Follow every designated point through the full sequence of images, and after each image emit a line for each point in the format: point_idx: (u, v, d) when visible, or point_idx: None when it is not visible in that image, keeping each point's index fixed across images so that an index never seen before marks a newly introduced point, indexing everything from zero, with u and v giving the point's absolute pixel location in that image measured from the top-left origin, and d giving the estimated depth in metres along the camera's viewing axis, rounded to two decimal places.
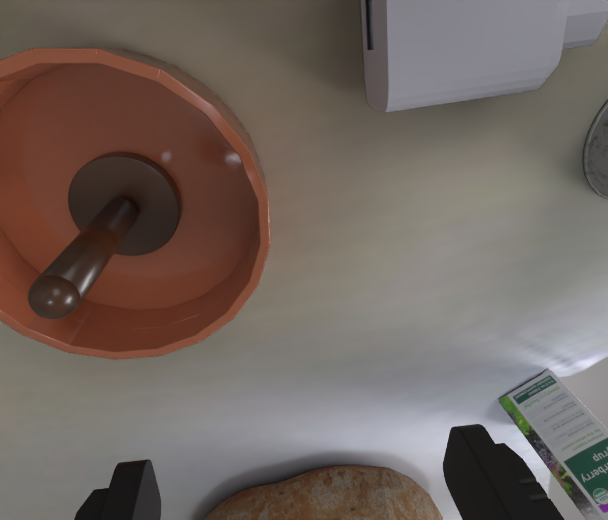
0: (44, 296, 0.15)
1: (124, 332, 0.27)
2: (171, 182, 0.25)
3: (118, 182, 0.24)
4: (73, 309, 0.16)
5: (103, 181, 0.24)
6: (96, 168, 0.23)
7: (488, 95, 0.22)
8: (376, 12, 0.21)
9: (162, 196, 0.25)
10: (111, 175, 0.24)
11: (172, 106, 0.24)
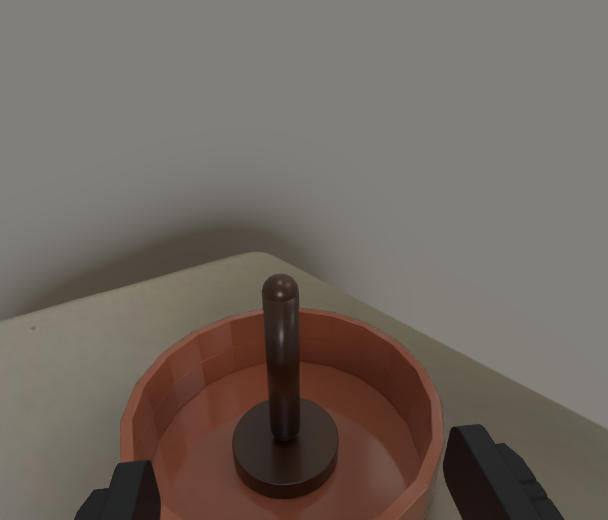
0: (288, 276, 0.20)
1: (138, 447, 0.22)
2: (326, 474, 0.23)
3: (310, 426, 0.25)
4: (276, 293, 0.19)
5: (306, 416, 0.26)
6: (316, 410, 0.26)
7: None
8: None
9: (311, 463, 0.23)
10: (314, 420, 0.26)
11: (395, 463, 0.24)
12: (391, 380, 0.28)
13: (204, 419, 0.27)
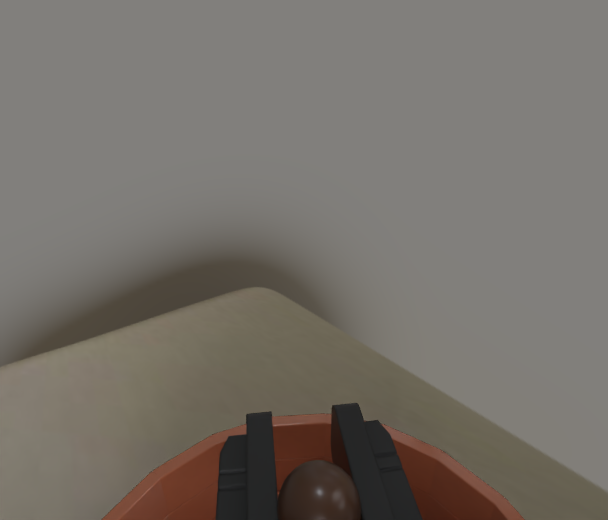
0: (339, 476, 0.09)
1: None
2: None
3: None
4: None
5: None
6: None
7: None
8: None
9: None
10: None
11: None
12: None
13: None
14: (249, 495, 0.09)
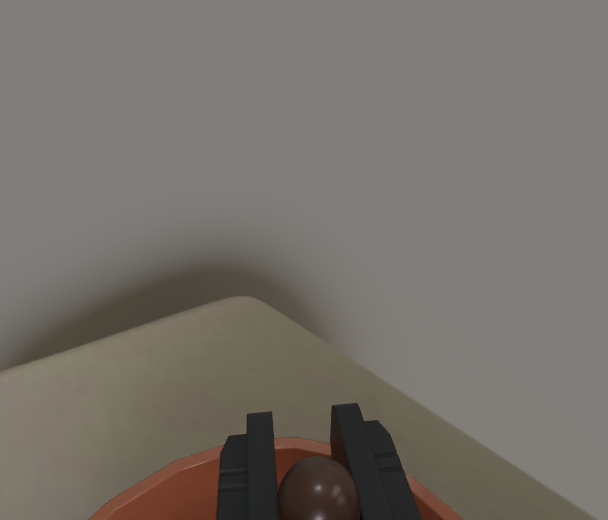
0: (337, 469, 0.09)
1: None
2: None
3: None
4: None
5: None
6: None
7: None
8: None
9: None
10: None
11: None
12: None
13: None
14: (250, 495, 0.09)
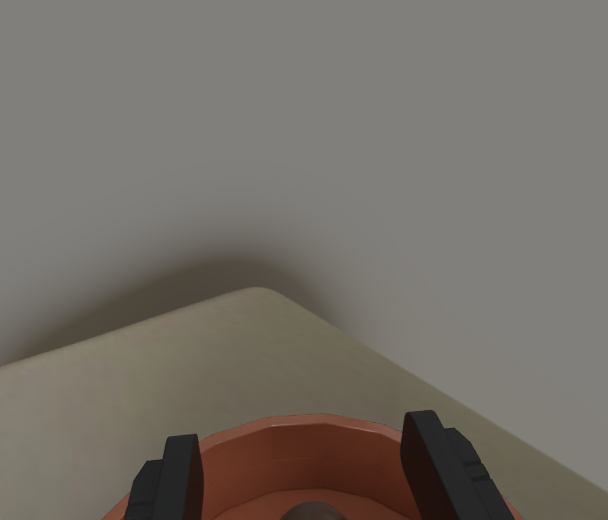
0: None
1: None
2: None
3: None
4: None
5: None
6: None
7: None
8: None
9: None
10: None
11: None
12: None
13: None
14: None
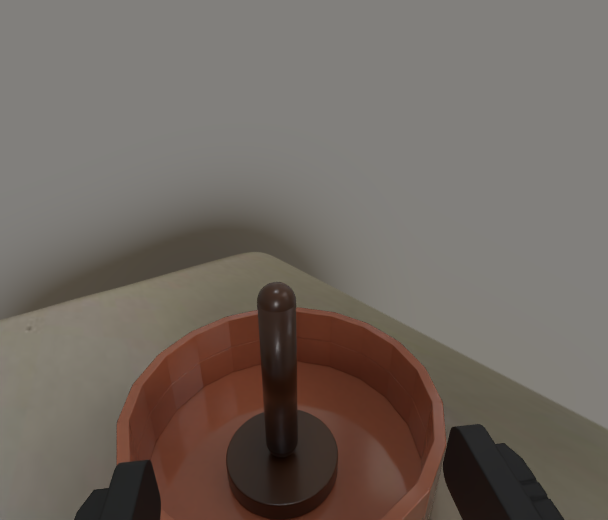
0: (285, 286, 0.19)
1: (135, 449, 0.22)
2: (318, 499, 0.21)
3: (309, 445, 0.24)
4: (268, 303, 0.18)
5: (308, 432, 0.24)
6: (319, 427, 0.25)
7: None
8: None
9: (302, 485, 0.21)
10: (315, 439, 0.24)
11: (396, 465, 0.24)
12: (391, 381, 0.27)
13: (202, 420, 0.27)
14: None
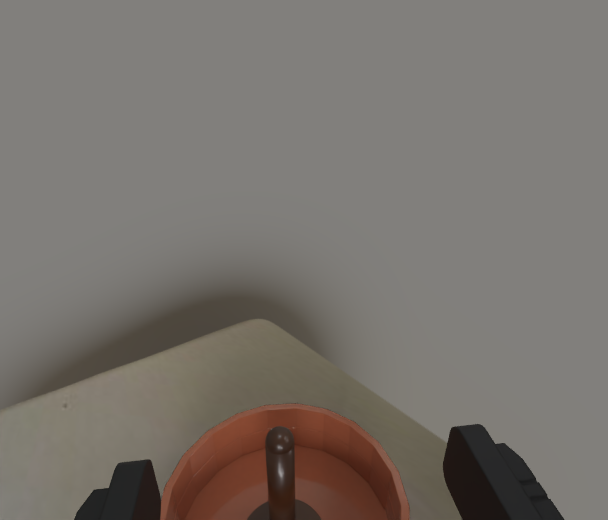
0: (286, 432, 0.25)
1: None
2: None
3: None
4: (274, 448, 0.24)
5: None
6: (312, 517, 0.31)
7: None
8: None
9: None
10: None
11: None
12: (372, 472, 0.33)
13: (217, 505, 0.33)
14: None
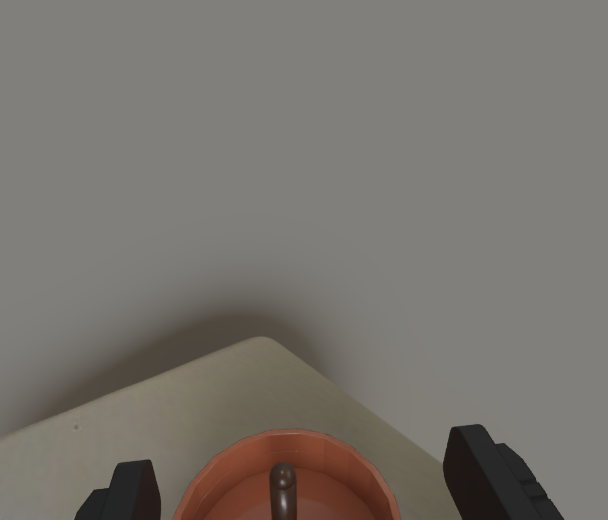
0: (289, 468, 0.26)
1: None
2: None
3: None
4: (277, 484, 0.26)
5: None
6: None
7: None
8: None
9: None
10: None
11: None
12: (371, 496, 0.35)
13: None
14: None
